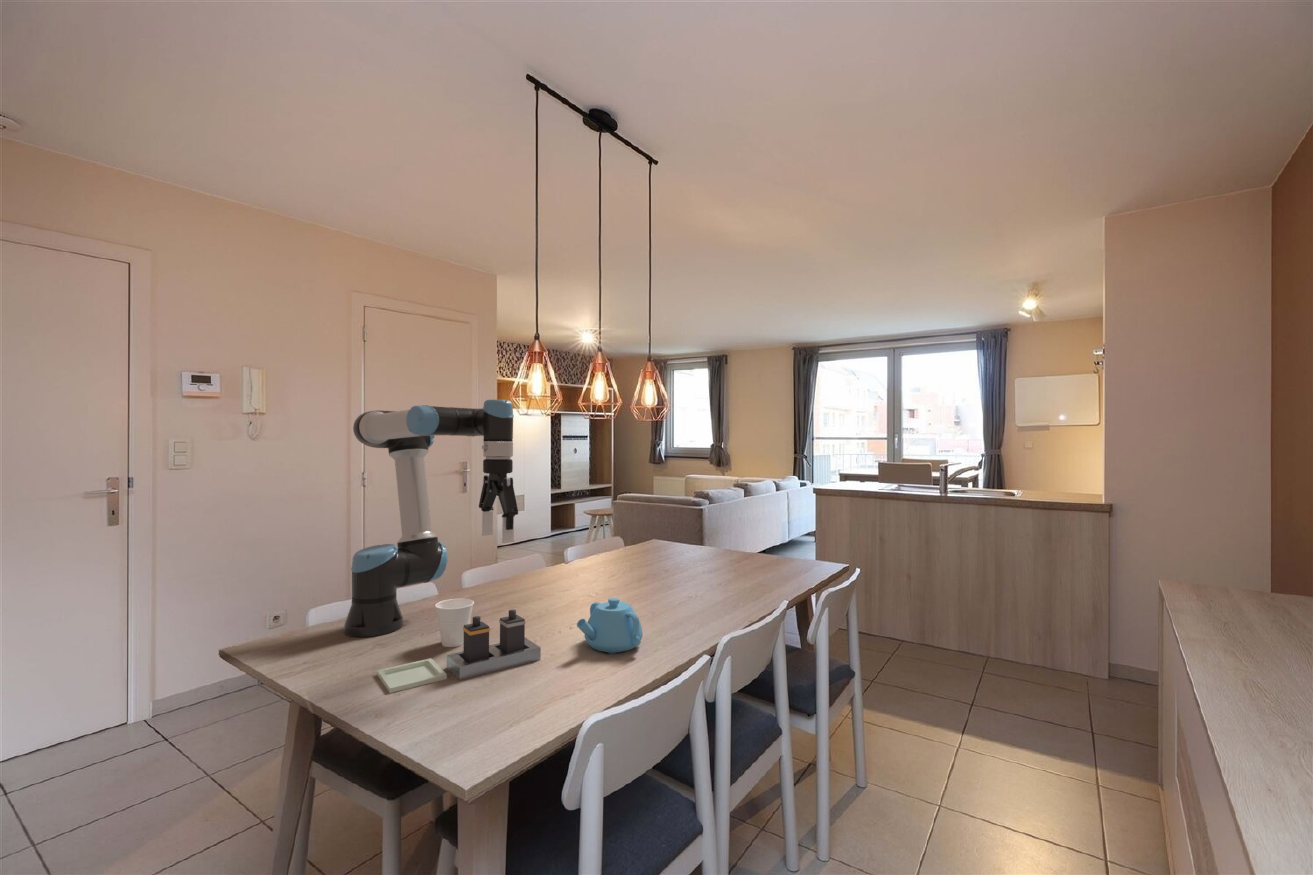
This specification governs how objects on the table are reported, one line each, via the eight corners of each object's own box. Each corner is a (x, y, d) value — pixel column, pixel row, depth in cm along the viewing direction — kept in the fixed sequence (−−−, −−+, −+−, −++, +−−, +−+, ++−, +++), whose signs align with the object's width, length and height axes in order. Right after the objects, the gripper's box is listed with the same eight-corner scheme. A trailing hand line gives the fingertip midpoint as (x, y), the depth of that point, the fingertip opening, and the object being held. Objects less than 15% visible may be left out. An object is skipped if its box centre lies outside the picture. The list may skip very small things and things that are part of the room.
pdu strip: (446, 669, 134) (446, 654, 134) (524, 650, 146) (524, 637, 146) (459, 682, 127) (459, 666, 127) (540, 661, 139) (540, 647, 139)
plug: (462, 667, 134) (463, 616, 134) (482, 662, 137) (482, 613, 137) (469, 673, 130) (470, 621, 131) (489, 668, 133) (489, 617, 133)
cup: (461, 652, 145) (461, 610, 145) (426, 649, 147) (426, 607, 147) (480, 639, 154) (481, 599, 154) (447, 636, 156) (448, 597, 156)
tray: (377, 676, 130) (377, 670, 130) (430, 664, 137) (430, 658, 137) (389, 695, 120) (390, 688, 120) (447, 680, 128) (447, 674, 128)
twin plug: (499, 658, 140) (499, 609, 140) (516, 654, 143) (517, 606, 143) (506, 664, 136) (507, 614, 136) (524, 659, 139) (525, 611, 139)
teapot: (660, 648, 149) (660, 600, 149) (603, 670, 134) (603, 617, 134) (609, 630, 162) (610, 586, 163) (553, 648, 148) (553, 600, 148)
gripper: (467, 457, 156) (466, 533, 156) (503, 459, 137) (502, 547, 136) (493, 456, 161) (492, 531, 161) (532, 459, 141) (531, 543, 141)
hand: (497, 538), depth 149 cm, fingers open, 13 cm apart
